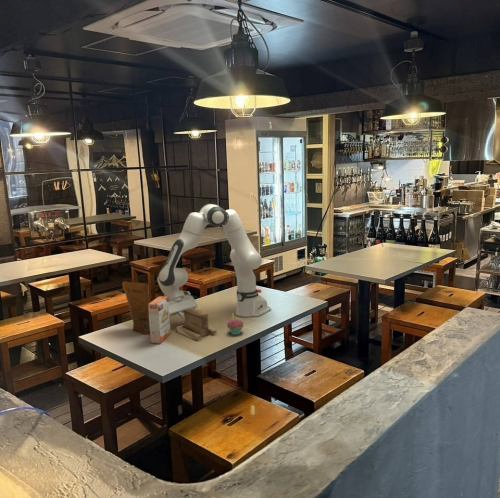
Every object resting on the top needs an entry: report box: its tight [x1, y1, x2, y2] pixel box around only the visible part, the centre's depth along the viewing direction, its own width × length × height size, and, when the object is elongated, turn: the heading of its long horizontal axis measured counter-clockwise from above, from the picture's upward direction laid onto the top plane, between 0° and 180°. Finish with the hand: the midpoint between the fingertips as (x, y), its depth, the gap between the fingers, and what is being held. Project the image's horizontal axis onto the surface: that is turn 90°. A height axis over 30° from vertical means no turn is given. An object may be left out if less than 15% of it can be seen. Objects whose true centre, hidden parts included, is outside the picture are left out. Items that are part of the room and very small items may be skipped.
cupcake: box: [226, 312, 244, 336], centre depth 239 cm, size 9×8×12 cm
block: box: [183, 308, 210, 339], centre depth 240 cm, size 5×14×12 cm, turn 43°
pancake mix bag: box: [121, 281, 151, 335], centre depth 244 cm, size 7×19×28 cm, turn 52°
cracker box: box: [148, 295, 171, 345], centre depth 234 cm, size 14×6×21 cm, turn 168°
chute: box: [175, 323, 218, 342], centre depth 242 cm, size 12×20×2 cm, turn 43°
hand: (186, 318), depth 247 cm, fingers closed
